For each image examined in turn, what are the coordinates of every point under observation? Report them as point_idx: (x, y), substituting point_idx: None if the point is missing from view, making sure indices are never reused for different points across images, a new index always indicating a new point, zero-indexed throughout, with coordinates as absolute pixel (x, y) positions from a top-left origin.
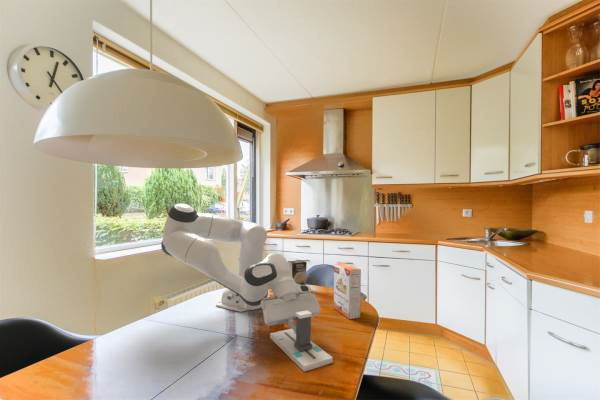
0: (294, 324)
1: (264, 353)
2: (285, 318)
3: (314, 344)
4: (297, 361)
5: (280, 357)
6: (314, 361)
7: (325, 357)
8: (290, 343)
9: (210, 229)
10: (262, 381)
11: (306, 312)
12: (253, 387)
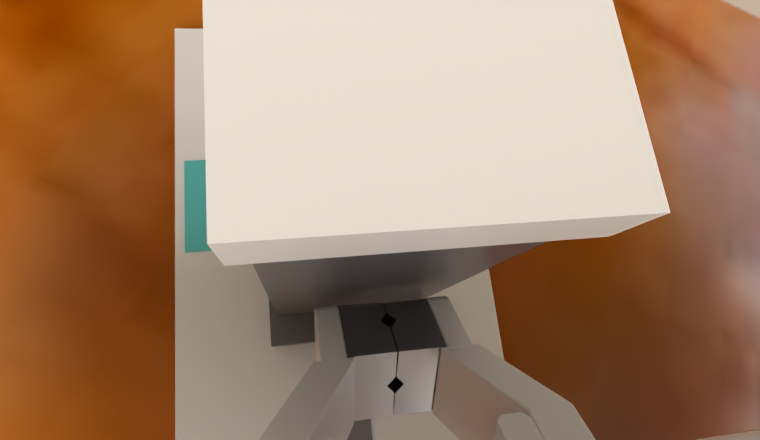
0: (480, 373)
1: (652, 412)
2: (732, 434)
3: (189, 301)
4: None
5: (540, 293)
6: None
7: None
8: (422, 426)
9: None
10: (697, 82)
11: (338, 72)
12: (744, 58)
